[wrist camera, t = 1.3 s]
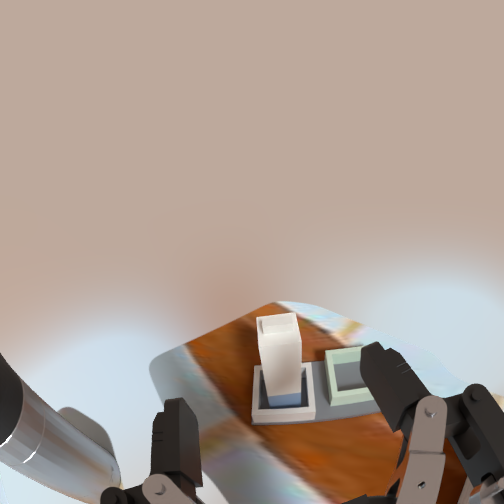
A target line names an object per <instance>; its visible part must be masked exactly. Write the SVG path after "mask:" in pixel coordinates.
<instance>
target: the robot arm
mask: <svg viewBox="0 0 504 504" xmlns="http://www.w3.org/2000/svg"><path fill="white" fill-rule="evenodd" d="M360 374H361V377H362V379H363V381H364V383H365V384H366V386H367V388H368V389H369V391H370V393H371V395H372V396H373V398H374V400H375V401H376V403H377V405H378V407H379V408H380V410H381V412H382V414H383V415H384V417H385V419H386V420H387V422H388V424H389V426H390V427H391V429H392V431H393V433H394V432H396V431H398V430H400V429H401V431H402V433H403V437H402V441H401V445H400V449H399V453H398V457H397V461H396V465H395V468H394V471H393V474H392V476H391V478H390V481H389V483H388V486H387V489H386V492H385V495H384V496H370V497H367V495H366V494H365V495H362V496H360V497H358V498H355V499H352V500H350V501H347V502H345V503H342V504H436V500H437V497H438V493H439V488H440V484H441V480H442V475H443V470H444V464H445V453H443V444H444V438H448V440H449V442H450V443H451V445H452V447H453V449H454V451H455V453H456V454H457V456H458V458H459V460H460V462H461V464H462V466H463V468H464V470H465V472H466V474H467V476H468V478H469V480H470V482H471V484H472V486H473V490H472V491H471V493H470V496H469V504H504V412H503V411H502V410H501V408H500V407H499V405H498V404H497V402H496V401H495V399H494V398H493V397H492V395H491V394H490V393H489V391H488V390H487V389H486V387H484V386H483V385H481V384H471V385H469V386H468V387H467V388H466V389H465V390H464V392H463V393H462V394H458V395H455V396H451V397H448V398H441V397H438V396H434V395H432V394H431V393H430V392H429V391H428V390H427V388H426V387H425V386H424V384H423V383H422V382H421V380H420V379H419V378H418V376H417V375H416V374H415V372H414V371H413V370H412V369H411V367H410V366H409V364H408V363H406V361H405V359H404V358H403V357H402V355H401V354H400V353H398V352H397V351H395V350H393V349H392V348H389V349H387V350H384V348H383V347H382V346H381V344H380V343H379V342H374V343H372V344H369V345H367V346H364V347H362V348H361V357H360ZM152 433H153V435H152V447H151V472H150V475H149V477H148V478H146V479H145V481H144V483H143V484H141V485H139V486H136V487H133V488H129V489H125V490H122V489H120V488H119V485H120V479H121V477H120V470H119V466H118V464H117V462H116V460H115V458H114V457H113V456H112V455H111V454H110V453H109V452H108V451H107V450H105V449H104V448H103V447H101V446H100V445H98V444H97V443H95V442H94V441H92V440H91V439H90V438H88V437H87V436H86V435H84V434H83V433H82V432H80V431H79V430H78V429H77V428H75V427H74V426H73V425H71V424H70V423H69V422H68V421H66V420H65V419H64V418H63V417H62V416H60V415H59V414H58V413H57V412H56V411H55V410H53V409H52V408H51V407H50V406H49V405H48V404H47V403H46V402H44V401H43V400H42V399H41V398H40V397H39V396H38V395H37V394H36V393H35V392H34V391H33V390H32V389H31V388H30V387H29V386H28V385H27V384H26V383H25V382H24V381H23V380H22V379H21V378H20V377H19V376H18V375H17V373H15V372H14V370H13V369H12V368H11V367H10V366H9V365H8V363H7V362H6V360H5V359H4V358H3V356H2V355H1V353H0V461H1V462H3V463H4V464H6V465H7V466H9V467H11V468H12V469H14V470H16V471H18V472H19V473H21V474H23V475H25V476H27V477H28V478H30V479H32V480H34V481H36V482H38V483H40V484H42V485H44V486H46V487H48V488H50V489H53V490H55V491H57V492H59V493H62V494H64V495H66V496H69V497H71V498H74V499H77V500H79V501H82V502H85V503H88V504H205V503H204V502H203V501H202V500H201V499H200V498H198V497H197V496H196V490H195V487H203V482H202V471H201V459H200V446H199V431H198V422H197V419H196V416H195V414H194V413H193V411H192V410H191V409H190V407H189V406H188V404H187V403H186V402H185V400H184V399H183V398H182V397H181V398H175V399H168V400H165V403H164V412H159V413H157V415H156V417H155V419H154V421H153V430H152Z"/></svg>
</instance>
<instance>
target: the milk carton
mask: <svg viewBox="0 0 504 504" xmlns="http://www.w3.org/2000/svg"><path fill="white" fill-rule="evenodd" d="M256 318H257V332H258V346H259V352H260V358H261V363H262V369H263V374H264V380H265V385H266V390H267V396H268V401H269V406H270V409H286V408H300V407H301V357H302V341H301V337H300V332H299V327H298V323H297V318H296V314H295V312H294V313H286V314H279V315H271V316H263V317H256Z"/></svg>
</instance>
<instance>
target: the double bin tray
mask: <svg viewBox="0 0 504 504" xmlns="http://www.w3.org/2000/svg"><path fill="white" fill-rule="evenodd" d="M366 346H367V345H366ZM362 347H364V346H359V347H352V348H344V349H336V350H327V351H325V360H324V361H316V362H305V363H301V407H300V408H286V409H270V406H269V401H268V396H267V390H266V385H265V380H264V374H263V369H262V365H255V366H254V382H253V400H252V425H281V424H298V423H310V422H320V421H329V420H337V419H344V418H351V417H357V416H363V415H368V414H374V413H379V412H381V410H380V408H379V407H378V405H377V403H376V401H375V400H374V398H373V396H372V395H371V393H370V391H369V389H368V388H367V386H366V384H365V383H364V381H363V379H362V377H361V374H360V357H361V348H362Z"/></svg>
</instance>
